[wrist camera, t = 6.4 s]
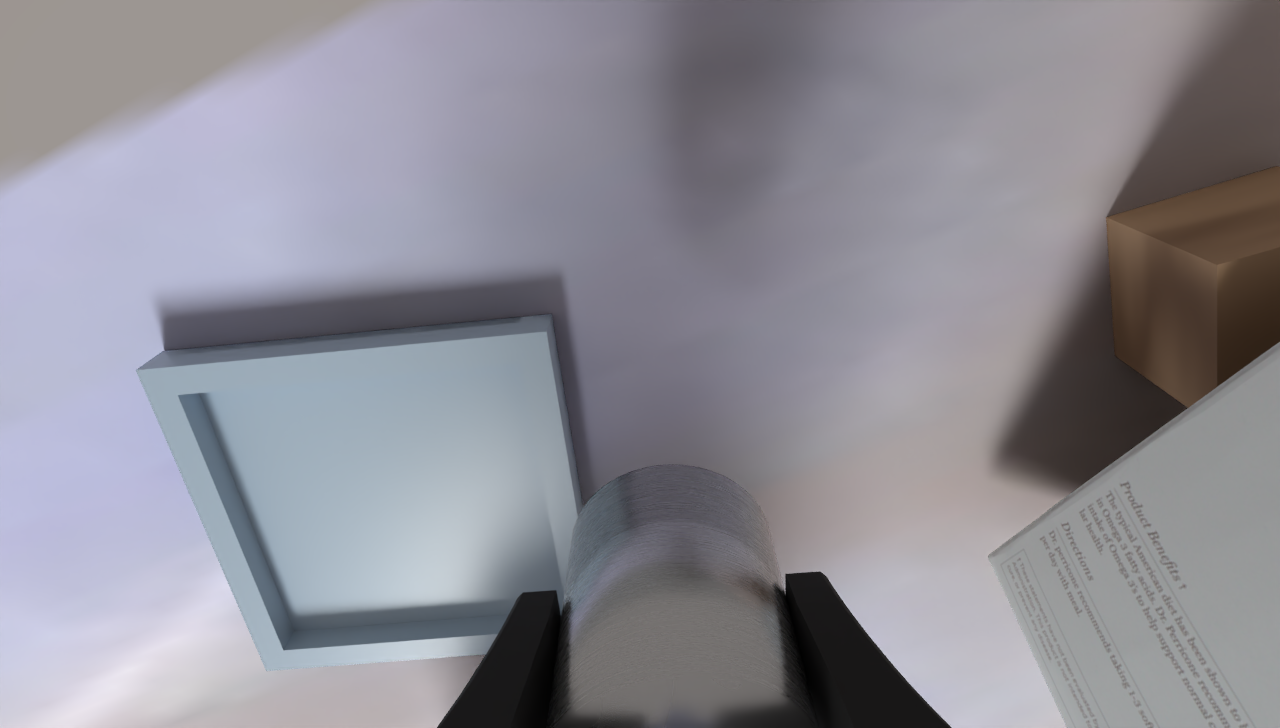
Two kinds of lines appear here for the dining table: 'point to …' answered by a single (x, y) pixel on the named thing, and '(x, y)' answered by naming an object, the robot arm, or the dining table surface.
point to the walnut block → (1197, 283)
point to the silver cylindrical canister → (676, 611)
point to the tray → (377, 483)
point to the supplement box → (1164, 572)
